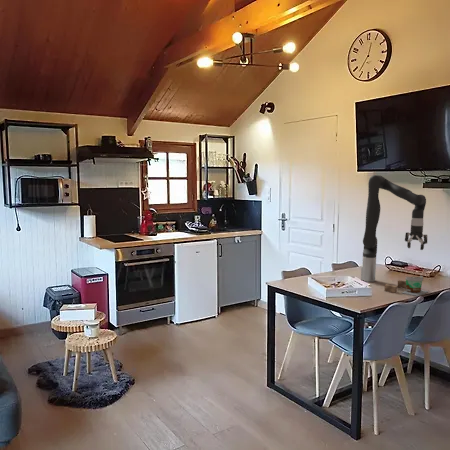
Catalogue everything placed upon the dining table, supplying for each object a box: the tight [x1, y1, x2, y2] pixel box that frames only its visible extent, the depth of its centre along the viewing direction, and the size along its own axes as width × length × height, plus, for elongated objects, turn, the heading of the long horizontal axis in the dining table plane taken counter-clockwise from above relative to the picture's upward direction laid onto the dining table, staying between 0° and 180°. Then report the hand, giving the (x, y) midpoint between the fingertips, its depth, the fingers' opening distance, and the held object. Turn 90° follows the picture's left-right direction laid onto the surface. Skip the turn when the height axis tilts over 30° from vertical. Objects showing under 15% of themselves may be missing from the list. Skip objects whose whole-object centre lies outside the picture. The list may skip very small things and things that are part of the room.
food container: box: [404, 275, 424, 293], centre depth 293 cm, size 12×6×10 cm, turn 107°
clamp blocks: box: [384, 279, 406, 294], centre depth 303 cm, size 7×21×4 cm, turn 133°
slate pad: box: [401, 289, 429, 297], centre depth 294 cm, size 10×16×1 cm, turn 133°
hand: (415, 249), depth 303 cm, fingers open, 8 cm apart
